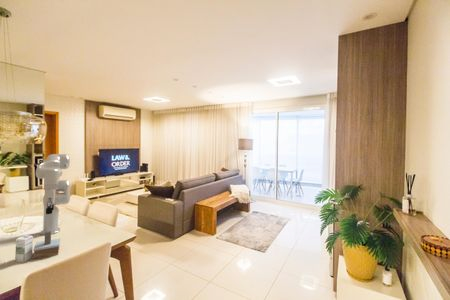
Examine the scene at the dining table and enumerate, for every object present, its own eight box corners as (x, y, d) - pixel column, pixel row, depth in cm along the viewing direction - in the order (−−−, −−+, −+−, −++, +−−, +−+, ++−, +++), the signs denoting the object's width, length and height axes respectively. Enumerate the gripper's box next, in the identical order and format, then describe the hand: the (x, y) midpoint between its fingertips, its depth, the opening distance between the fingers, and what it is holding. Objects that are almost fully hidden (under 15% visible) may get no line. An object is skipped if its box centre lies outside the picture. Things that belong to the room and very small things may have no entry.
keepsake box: (36, 253, 139) (36, 244, 139) (59, 248, 146) (59, 240, 146) (33, 260, 131) (34, 250, 131) (58, 255, 138) (58, 246, 138)
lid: (36, 245, 139) (36, 230, 139) (60, 241, 147) (60, 227, 147) (33, 252, 131) (34, 236, 131) (59, 247, 138) (59, 232, 138)
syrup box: (32, 257, 134) (33, 235, 134) (24, 262, 128) (25, 239, 128) (23, 257, 134) (24, 234, 134) (14, 262, 128) (15, 239, 128)
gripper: (45, 185, 148) (44, 209, 147) (41, 189, 133) (40, 216, 133) (58, 184, 152) (57, 208, 152) (56, 188, 138) (55, 214, 138)
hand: (49, 212), depth 142 cm, fingers open, 9 cm apart
